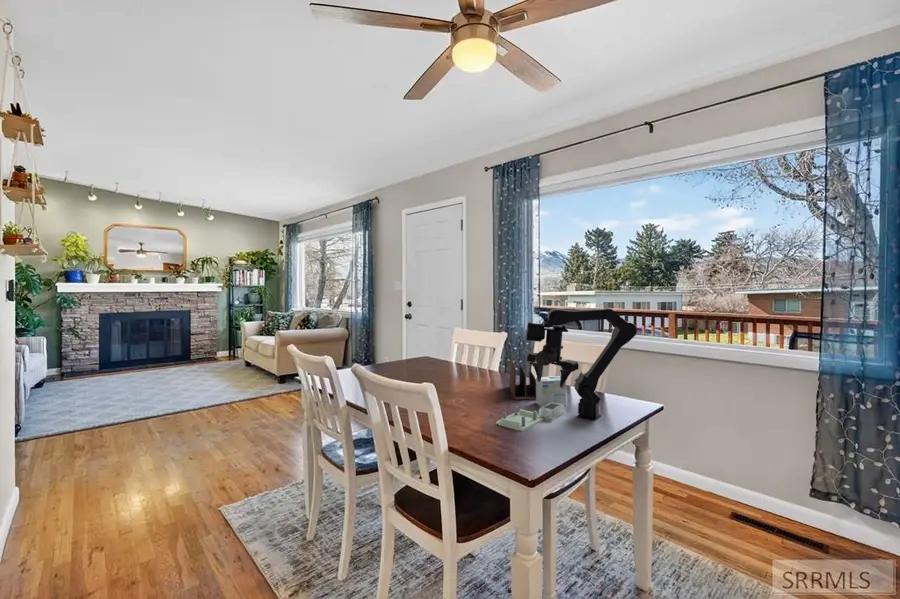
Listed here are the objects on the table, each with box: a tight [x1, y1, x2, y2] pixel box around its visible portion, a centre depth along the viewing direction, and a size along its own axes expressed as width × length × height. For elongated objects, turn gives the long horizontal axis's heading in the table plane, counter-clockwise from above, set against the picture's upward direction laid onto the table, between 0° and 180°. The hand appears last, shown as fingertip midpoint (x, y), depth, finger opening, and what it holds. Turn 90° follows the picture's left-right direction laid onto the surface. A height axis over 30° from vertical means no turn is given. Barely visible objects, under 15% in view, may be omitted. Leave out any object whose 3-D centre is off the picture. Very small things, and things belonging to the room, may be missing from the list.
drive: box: [538, 402, 565, 422], centre depth 156 cm, size 5×10×4 cm, turn 141°
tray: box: [495, 405, 544, 432], centre depth 150 cm, size 11×14×4 cm
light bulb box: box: [535, 375, 567, 408], centre depth 170 cm, size 11×7×11 cm, turn 100°
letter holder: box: [508, 359, 536, 400], centre depth 186 cm, size 10×20×14 cm, turn 177°
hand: (549, 384), depth 156 cm, fingers open, 9 cm apart
